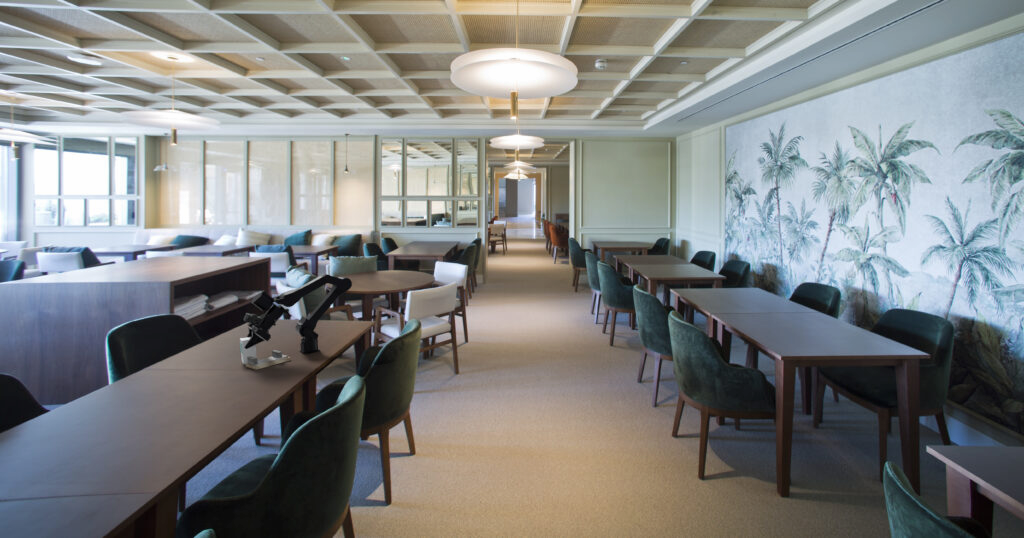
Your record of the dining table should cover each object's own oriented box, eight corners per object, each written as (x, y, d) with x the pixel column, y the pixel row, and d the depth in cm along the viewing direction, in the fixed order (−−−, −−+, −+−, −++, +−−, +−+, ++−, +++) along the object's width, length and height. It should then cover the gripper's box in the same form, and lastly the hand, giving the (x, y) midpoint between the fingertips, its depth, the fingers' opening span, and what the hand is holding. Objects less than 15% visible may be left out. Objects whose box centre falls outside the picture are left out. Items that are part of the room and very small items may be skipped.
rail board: (280, 357, 221) (280, 347, 221) (290, 360, 217) (289, 350, 217) (245, 366, 209) (245, 356, 209) (255, 369, 205) (254, 359, 204)
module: (254, 359, 219) (253, 336, 217) (256, 362, 215) (255, 338, 214) (241, 361, 216) (239, 338, 214) (243, 364, 212) (241, 340, 211)
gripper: (251, 302, 222) (224, 331, 217) (260, 309, 207) (231, 340, 202) (272, 317, 228) (246, 346, 223) (282, 325, 213) (254, 356, 208)
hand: (244, 347), depth 214 cm, fingers closed on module, 4 cm apart
